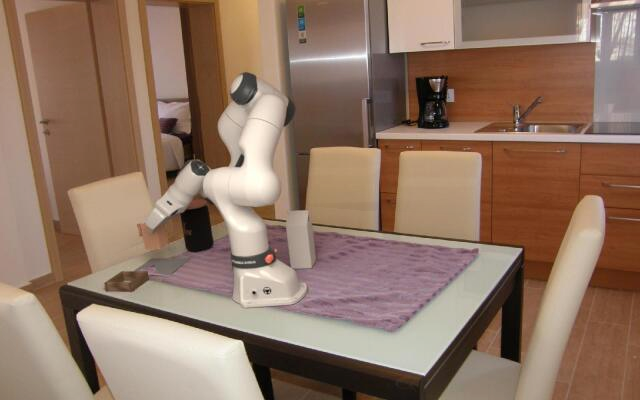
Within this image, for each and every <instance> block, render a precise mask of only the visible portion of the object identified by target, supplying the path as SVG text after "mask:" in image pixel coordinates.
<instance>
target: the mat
mask: <svg viewBox="0 0 640 400" xmlns="http://www.w3.org/2000/svg"><path fill="white" fill-rule="evenodd" d="M190 260H191V257H174V258H173V257H166V258H165V257H161V258H160V257H157V258H154V257H153V258H152V257H151V259H148V261H146V262H144V263H143V264H142V265H140V266H139V267H137V268H136V269H134V270H133V271H139V270H141V269H144V268H146V267H149V266H152V265H154V264H155V266H156V267H154V268H156V272H155V273H159V274H164V275H170V274H171V275H172V273H173V272H174V271H175V272H177V271H178V270H179V269H180V268H182V267H183V266H184V265H185V264H187V263H188V262H189V261H190ZM177 269H178V270H177ZM157 271H158V272H157ZM175 272H174V273H175ZM174 273H173V274H174ZM171 275H170V276H171Z"/></svg>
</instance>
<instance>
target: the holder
mask: <svg viewBox="0 0 640 400" xmlns="http://www.w3.org/2000/svg"><path fill="white" fill-rule="evenodd" d="M148 281H150V276H148V271H134V270H132V271H130V270H129V271H128V270H127V271H125V270H124V271H123V270H121V271H120V272H118V273H117V274H115V275H114V276H112V277H111V278H109V279H108V280H107V281H105V282H103V284H104V288H105V292H111V293H112V292H117V293H120V292H121V293H122V292H123V293H125V292H126V293H132V292H135V291H136V290H138V289H139V288H140V287H142V286H143V285H144V284H145V283H147V282H148Z"/></svg>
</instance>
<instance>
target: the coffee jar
mask: <svg viewBox="0 0 640 400" xmlns="http://www.w3.org/2000/svg"><path fill="white" fill-rule="evenodd" d="M207 204H208V202H207V201H206V200H205V199H193V200H192V202H191V203H190V205H189V206H188V207H187V209H186V210H185V211H184V212H183V213H180V214H179V216H180V222H181V229H182V232H183V233H182V234H183V239H184V244H185V248H186V250H187V251H188V252H191V253H200V252H201V253H202V252H206V251H208V250H210V249H212V247H213V246H214V237H213V231H212V223H211V218H210V212H209V211H210V210H209V206H207Z"/></svg>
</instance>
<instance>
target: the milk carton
mask: <svg viewBox="0 0 640 400" xmlns="http://www.w3.org/2000/svg"><path fill="white" fill-rule="evenodd" d="M286 214H287V215H286V223H285V229H286V238H287V247H288V253H289V261H290V262H289V264H290V267H291V268H293V269H294V270H295V269H312V268H313V267H314V265H315V263H316V261H317V257H316V248H315V247H316V246H315V239H314V229H313V221H312V217H311V215H310V213H309V210H308V209H305V210H288V211H286Z"/></svg>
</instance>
